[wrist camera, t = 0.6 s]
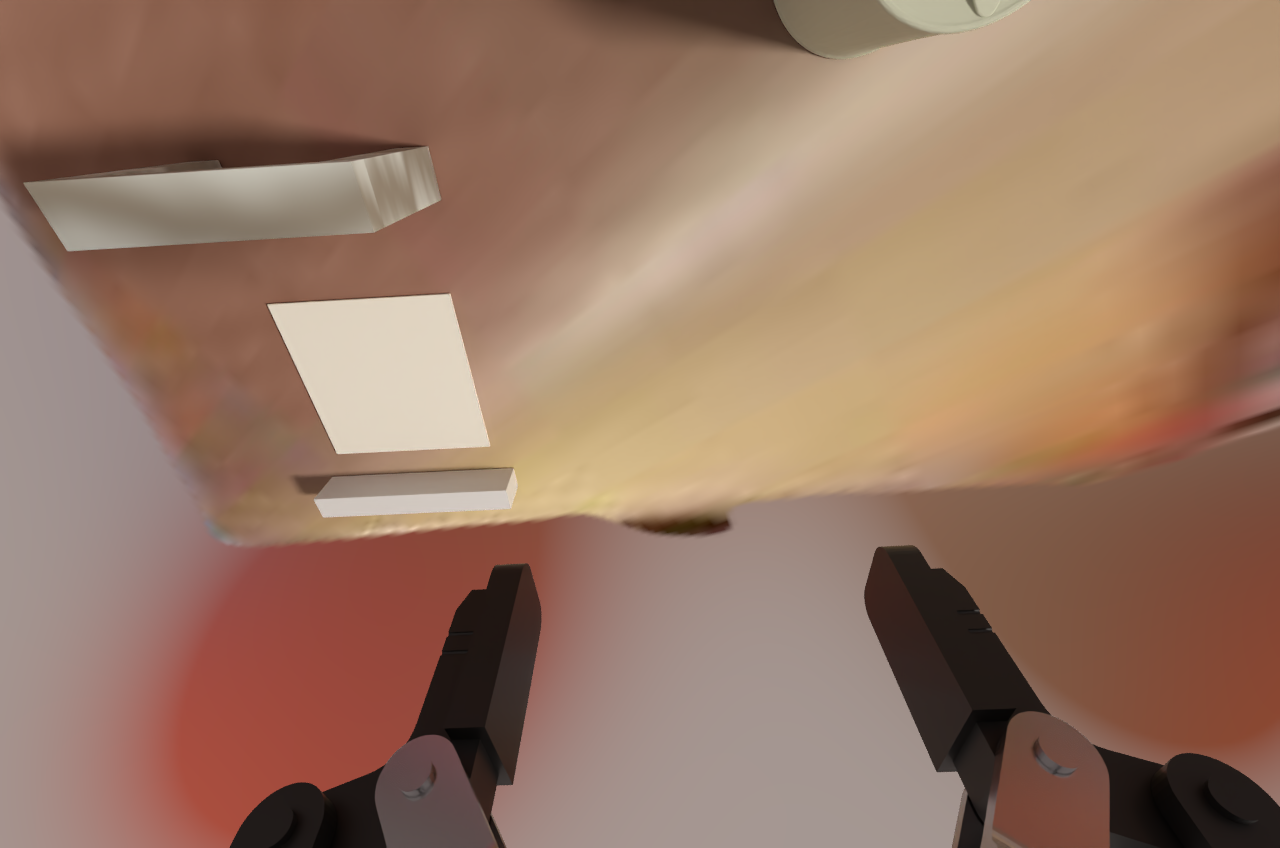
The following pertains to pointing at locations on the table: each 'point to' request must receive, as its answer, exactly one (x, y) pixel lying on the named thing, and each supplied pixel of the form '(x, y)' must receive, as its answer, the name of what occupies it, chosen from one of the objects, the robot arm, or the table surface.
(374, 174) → the bridge
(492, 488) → the wall
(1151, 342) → the table surface
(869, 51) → the can
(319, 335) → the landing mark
